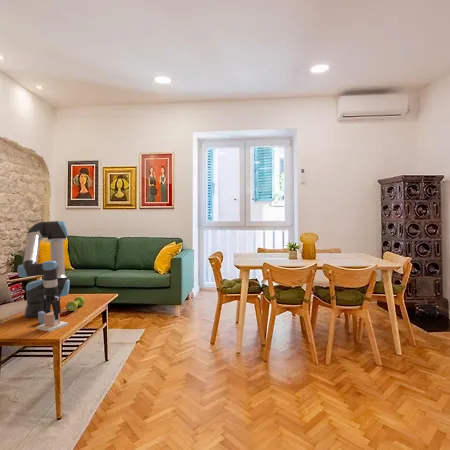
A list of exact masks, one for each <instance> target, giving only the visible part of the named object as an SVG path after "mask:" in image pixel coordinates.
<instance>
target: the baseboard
mask: <svg viewBox="0 0 450 450" xmlns="http://www.w3.org/2000/svg"><path fill="white" fill-rule="evenodd" d="M66 326H69V322H67V321H62V320H60V324H58V325H55V326H52V327H49V326H45V324H40V325H38V326H36V329H37V330H41V331H45V332H50V333H51V332H54V331H56V330H58V329H61V328H64V327H66Z"/></svg>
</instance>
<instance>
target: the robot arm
mask: <svg viewBox="0 0 450 450" xmlns="http://www.w3.org/2000/svg"><path fill="white" fill-rule="evenodd" d="M66 223H67V222H65V221H63V220H60V221H59V220H55V221H54V220H53V221H51V220H50V221H40V222H37V223H35V224H33V225H32V226H31V227H30V228H29V229H28V231H27V233H26V240H27V241H26V247H25V250H24V251H25V252H24V256H23V257H24V258H23V262H22V264H19V265H18V266H17V270H16V271H17V275H18V277H19V278H27V277H29V278H30V277H38V276H42V278H43V279H37V280H33V281H31V282H28V283H27V284H26V285H25V286H26V287H25V292H26V293H25V295H26V307H25V310H24V318H27V319H29V318H30V319H31V318H33V319H34V318H38V312H41V311H43V312H45V313H49V312H51V311H50V310H51V308H52V311H53V312H54V314H53V326H55V325H58V314H59V313H60V314H61V313H62V311H61V302H60V301H61V297H66V296H68V294H69V291H70V284H71V283H70V282H71V281H70V279H69V278H68V276H67V275H66V273H65V272H66V269H65V246H64V245H65V243H64V242H65V241H66V239H67V238H68V236H69V231H68V228H67V224H66ZM43 239H47V241H48V242H49V244H50V260H47V261H44V262H42V263H41V262H40V263H38V260H39V252H40V245H41V241H42V240H43Z"/></svg>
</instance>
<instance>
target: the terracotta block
mask: <svg viewBox="0 0 450 450" xmlns="http://www.w3.org/2000/svg"><path fill="white" fill-rule="evenodd" d="M53 314H54V312H50V313H46V314H44V322H45V326H49V327H52V326H53ZM60 321H61V313H59V314H58V324H60Z"/></svg>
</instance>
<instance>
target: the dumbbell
mask: <svg viewBox="0 0 450 450" xmlns="http://www.w3.org/2000/svg"><path fill="white" fill-rule="evenodd" d="M85 302H86V300H85V298H84V297H83V296H76V297H75V298H74V300H72V301H71V300H70V301H68V302H66V305H65V309H66V311H68V310H71V311H73V312H75V311H76V310H77V308H78V306H79V307H83V306H84V304H86V303H85ZM73 312H72V313H73Z"/></svg>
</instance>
